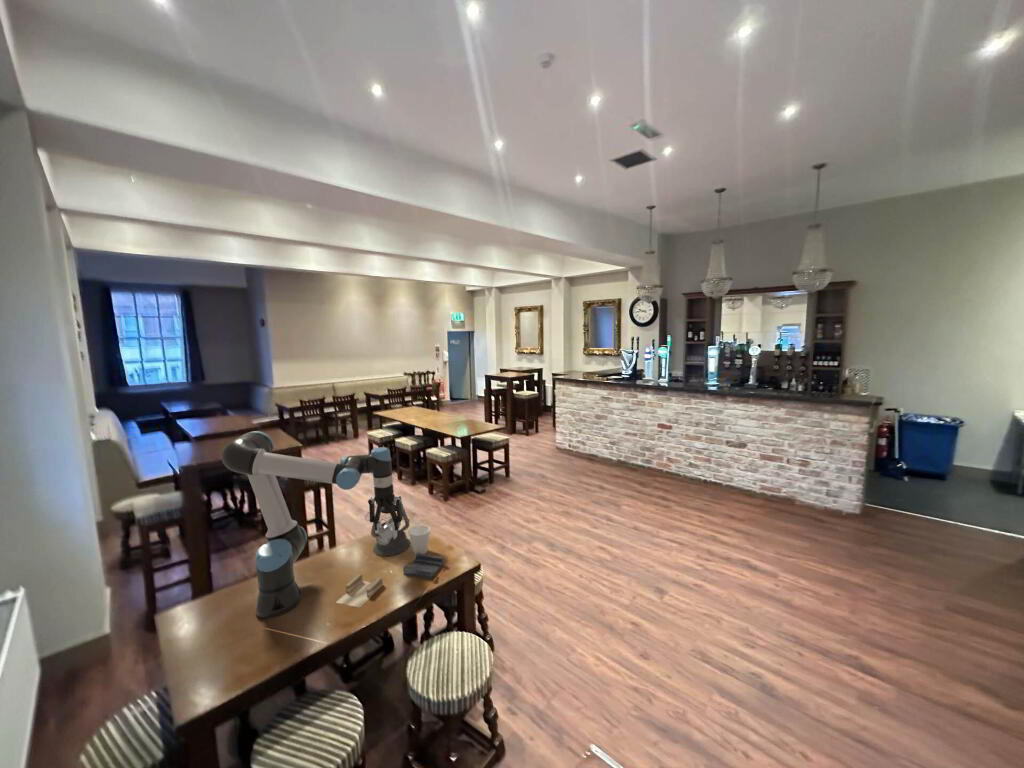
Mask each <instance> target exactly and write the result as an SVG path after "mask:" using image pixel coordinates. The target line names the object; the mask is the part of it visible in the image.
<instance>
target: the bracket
mask: <svg viewBox="0 0 1024 768" xmlns="http://www.w3.org/2000/svg"><path fill="white" fill-rule="evenodd" d="M382 586H383V577H377V578H376V580H374V581H373V582H370V581H366V580H363V574H362V573H358V574H357V575H356V576H355V577H354V578H352V579H351V580H350V581H349V582H348V583H347V584H346V585H345V593H344V594H343V595H342V596H341V597H340V598H339V599H338V600H337V601H335V603H336V604H340V605H345V606H349V607H354V608H358V609H359V608H362V607H363V606H364V605H365V603H366V602H367V601H369V600H370V599H371V597H372V596H373V595H374V594H375V593H377V591H378V590H380V589H381V587H382Z"/></svg>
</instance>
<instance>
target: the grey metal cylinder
mask: <svg viewBox="0 0 1024 768" xmlns="http://www.w3.org/2000/svg"><path fill="white" fill-rule="evenodd" d="M385 522H386V524H385V525H384V526H383V527H382V529H381V530H380V531H379V532H378V533H377V535H376V538H375V541H376V543H377V542H378V543H379V544H380V545H387V544H388V543H389V542H390V540H391V539H392V538H393V527H392V524H393V523H394V522H393V519H392V517H389V518H388V519H387V520H386V521H385ZM400 523H401V522H400ZM400 523H399V529H400V528H401V525H400ZM399 529H398V530H399ZM398 530H397V531H398Z"/></svg>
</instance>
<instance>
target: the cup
mask: <svg viewBox="0 0 1024 768" xmlns="http://www.w3.org/2000/svg"><path fill="white" fill-rule="evenodd" d="M407 530H408V531H407V533H408V534H409V535H408V536H409V540H410V542H411V548H412V551H413V554H414V556H415V555H416V554H417V553H420V554H426V553H427V552H428V550H429V549H428V548H429V539H430V531H431V527H430V526H429V525H425V524H417V525H414V526H411V527H410V528H408V529H407Z"/></svg>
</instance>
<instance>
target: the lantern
mask: <svg viewBox="0 0 1024 768" xmlns="http://www.w3.org/2000/svg"><path fill="white" fill-rule="evenodd" d="M394 492H395V491H394V490H393V493H394ZM394 496H395V494H394ZM395 498H401V499H402V496H401V495H399V496H395ZM392 503H393V507H394V509H395V512H396V514H397V511H396V504H395V501H393V502H392ZM375 504H376V505H375V516H376V512H377V506H378V504H377V503H376V502H375ZM401 510H402V517H403V519H402V521H404V523H405V525H404V526H403V527H400V528H401V529H400V528H399V529H398V531H397V537H396V538H395V539H393V538H392V539H391V540H390V542H389V543H388V544H387V545H380V544H379V543H378V542H377V541H376V543H375V544H374V546H373V548H372V551H373V553H374V554H375V555H376V556H378V557H379V556H380V557H394V556H398V555H401V554H402V552H403V553H405V552H406V551H407V550H409V548H410V547H411V545H412V544H411V540H410V538H408V536H407V534H406V531H407V530H409V527H410V519H409V517H408V515H407V512H406V511H405V508H404V505H403V503H402V501H401ZM381 514H384V515H381ZM381 514H380V517H381V519H380V520H379V521H381V522H382V521H384V522H383V523H381V527H383V526H384V525H385V524H386V522H387V521H386V520H387V519H390V518H392V517H391V515H390V512H389V510H388V509H387V507H382V510H381ZM387 514H388V515H390V516H387V517H386V515H387ZM368 515H369V513H367V514H366V515H365V518H364V520H367V521H368V522H370V519H367V516H368ZM401 523H402V522H400V526H401V525H402V524H401ZM377 534H378V533H377V531H376V530H375V524H374V523H373V522H372V526H371V531H370V535H371V537H373V538H375V539H376V535H377ZM410 544H411V545H410ZM405 550H406V551H405ZM400 553H401V554H400Z"/></svg>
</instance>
